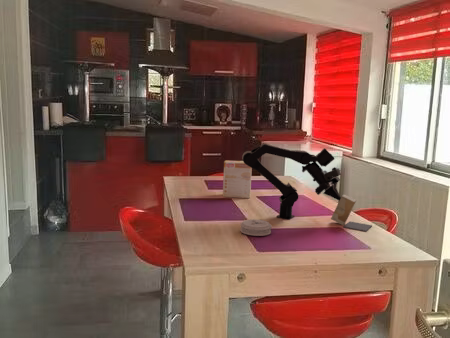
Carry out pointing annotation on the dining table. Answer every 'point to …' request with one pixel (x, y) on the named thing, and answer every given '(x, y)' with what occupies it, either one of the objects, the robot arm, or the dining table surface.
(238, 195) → the coffeecake box
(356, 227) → the pad
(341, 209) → the skincare box
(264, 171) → the robot arm
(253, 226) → the lid
